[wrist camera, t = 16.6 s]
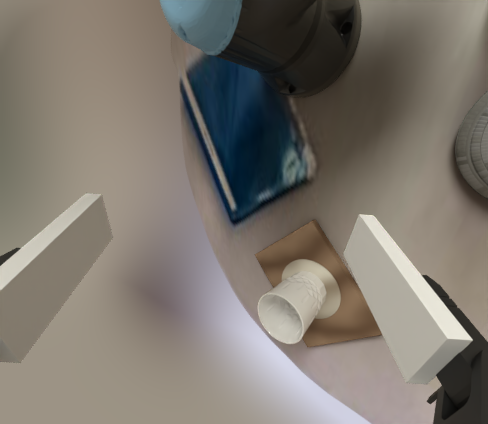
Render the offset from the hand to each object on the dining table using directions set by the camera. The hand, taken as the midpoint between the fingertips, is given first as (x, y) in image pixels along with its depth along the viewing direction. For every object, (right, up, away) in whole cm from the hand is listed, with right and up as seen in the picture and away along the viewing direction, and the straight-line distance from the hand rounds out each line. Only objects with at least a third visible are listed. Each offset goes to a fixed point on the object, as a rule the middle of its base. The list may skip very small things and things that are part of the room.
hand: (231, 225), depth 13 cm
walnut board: (+13, -13, +32) cm, 37 cm away
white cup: (+12, -13, +31) cm, 35 cm away
